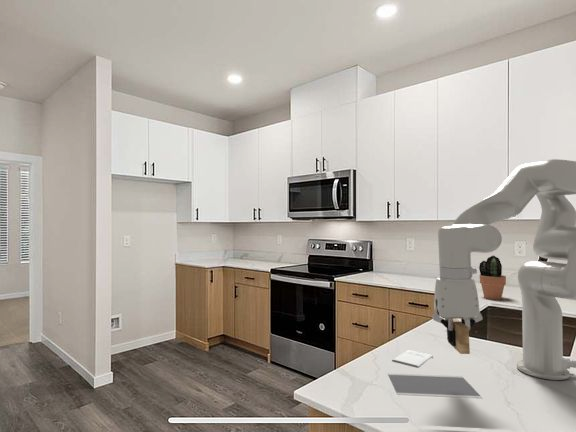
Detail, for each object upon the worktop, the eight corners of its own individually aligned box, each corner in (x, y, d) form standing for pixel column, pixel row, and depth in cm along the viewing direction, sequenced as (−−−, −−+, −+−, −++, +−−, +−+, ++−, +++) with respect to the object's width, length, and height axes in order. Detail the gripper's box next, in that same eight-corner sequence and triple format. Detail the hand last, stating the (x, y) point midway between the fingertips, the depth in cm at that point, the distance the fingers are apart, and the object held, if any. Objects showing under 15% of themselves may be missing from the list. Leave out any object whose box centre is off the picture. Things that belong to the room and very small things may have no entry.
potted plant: (504, 297, 219) (504, 254, 220) (507, 301, 207) (507, 256, 208) (478, 295, 225) (478, 253, 226) (480, 299, 212) (480, 255, 213)
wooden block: (456, 341, 100) (455, 317, 100) (469, 353, 91) (468, 327, 92) (447, 341, 101) (447, 317, 101) (460, 353, 92) (459, 327, 92)
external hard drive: (391, 364, 113) (407, 353, 122) (418, 371, 108) (433, 359, 117) (391, 359, 113) (407, 348, 123) (418, 365, 108) (433, 354, 117)
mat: (461, 378, 102) (461, 376, 102) (482, 400, 89) (482, 398, 89) (387, 375, 103) (387, 373, 103) (397, 396, 90) (397, 394, 90)
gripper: (480, 270, 99) (483, 339, 99) (419, 272, 101) (422, 340, 100) (494, 275, 92) (497, 349, 92) (428, 276, 93) (430, 349, 93)
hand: (458, 344), depth 96 cm, fingers closed on wooden block, 2 cm apart
